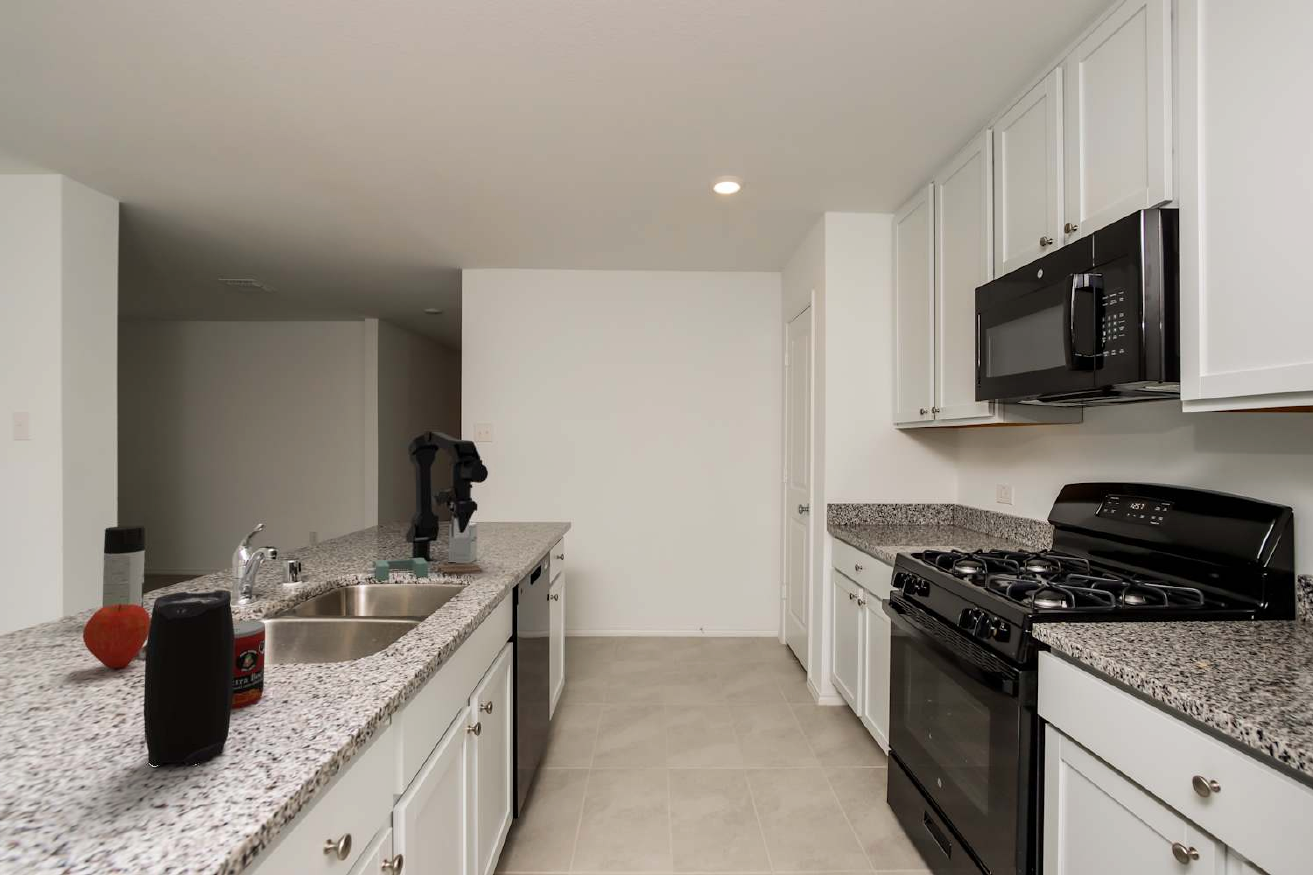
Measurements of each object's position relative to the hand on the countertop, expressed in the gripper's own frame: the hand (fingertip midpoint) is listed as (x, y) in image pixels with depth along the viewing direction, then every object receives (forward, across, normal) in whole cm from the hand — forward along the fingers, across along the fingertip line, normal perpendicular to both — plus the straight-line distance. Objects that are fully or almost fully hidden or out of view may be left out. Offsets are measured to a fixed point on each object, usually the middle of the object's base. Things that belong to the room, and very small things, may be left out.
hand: (460, 531), depth 193 cm
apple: (+12, +62, -68) cm, 93 cm away
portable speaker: (+12, +103, -52) cm, 116 cm away
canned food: (+12, +86, -50) cm, 100 cm away
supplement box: (+12, -15, +4) cm, 20 cm away
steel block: (+2, 0, 0) cm, 2 cm away
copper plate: (+12, 0, 0) cm, 12 cm away
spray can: (+12, +28, -75) cm, 81 cm away
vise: (+12, -1, -18) cm, 22 cm away
